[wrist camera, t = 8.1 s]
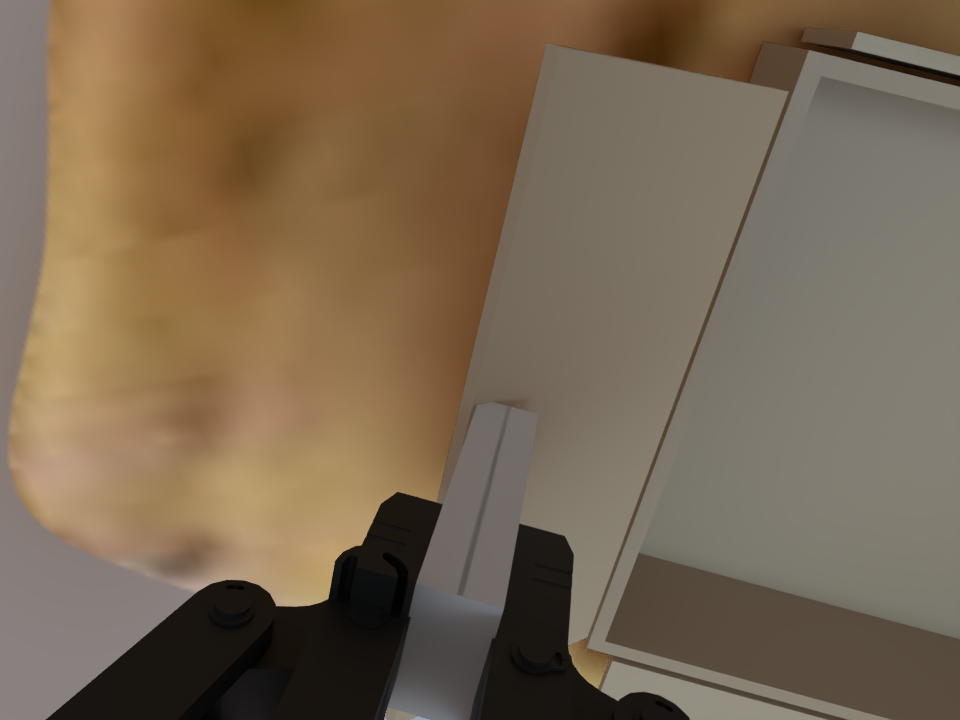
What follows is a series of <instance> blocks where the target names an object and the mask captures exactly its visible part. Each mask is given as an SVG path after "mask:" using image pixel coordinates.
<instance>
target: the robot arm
mask: <svg viewBox="0 0 960 720" xmlns="http://www.w3.org/2000/svg"><path fill="white" fill-rule="evenodd" d="M538 416H539V414H536V413H533V412H529V411H525V410H521V409H518V408H514V407H510V406H506V405H503V404H499V403H495V402H489V403H484V404H478V405H477V406H476V409H475V412H474V415H473V418H472V421H471V424H470V427H469V430H468V433H467V436H466V439H465V442H464V445H463V447H462V450H461V453H460V456H459V459H458V462H457V465H456V468H455V471H454V474H453V477H452V480H451V483H450V486H449V488H448V491H447V494H446V497H445V500H444V503H443V504H440V503H436V502H432V501H429V500H425V499H421V498H418V497H414V496H410V495H407V494H403V493H400V492H397V493H396V494H394V495H393V496H392V497H390V498H389V499H387V500H386V501H384V502H383V503H382V504H381V505H380V507H379V509H378V512H377V514H376V516H375V518H374V520H373V523H372V524H371V527H370V529H369V531H368V533H367V536H366V537H365V539H364V542H363V544H362V546H355V547H353V548H351V549H349V550H346V551H344V552H343V553H342V554H341V555H340V556H339V557H338V558H337V560H336V561H335V565H334V571H333V577H332V583H331V588H330V594H329V599H328V600H325V601H323V602H321V603H318V604H314V605H310V606H299V607H285V606H276V604H275V602H274V601H273V599H272V597H271V595H270V593H268V592H267V591H266V590H264V589H263V588H262V587H260V586H259V585H256V584H253V583H250V582H247V581H243V580H225V581H221V582H217V583H213V584H210V585H208V586H207V587H205V588H203V589H202V590H200V591H198V592H197V593H196V594H194V595H193V596H192V597H191V598H190V599H189V600H187V601H186V602H185V603H184V604H183V605H181V606H180V607H179V608H178V609H177V610H175V611H174V612H173V613H172V614H171V615H170V616H168V617H167V618H166V619H165V620H164V621H163V622H161V623H160V624H159V625H158V626H157V627H155V628H154V629H153V630H152V631H151V632H149V633H148V634H147V635H146V636H145V637H143V638H142V639H141V640H140V641H139V642H137V643H136V644H135V645H134V646H133V647H132V648H130V649H129V650H128V651H127V652H126V653H124V654H123V655H122V656H121V657H120V658H118V659H117V660H116V661H115V662H114V663H113V664H111V665H110V666H109V667H108V668H107V669H105V670H104V671H103V672H102V673H101V674H99V675H98V676H97V677H96V678H95V679H94V680H92V681H91V682H90V683H89V684H88V685H87V686H86V687H84V688H83V689H82V690H81V691H80V692H78V693H77V694H76V695H75V696H73V697H72V698H71V699H70V700H69V701H67V702H66V703H65V704H64V705H63V706H62V707H60V708H59V709H58V710H57V711H56V712H54V713H53V714H52V715H51V716H50V717H49V718H47V719H46V720H384V717H385V713H386V710H387V707H388V708H392V709H395V710H399V711H402V712H406V713H409V714H413V715H416V716H420V717H423V718H427V719H430V720H690V718H689V717H688V716H687V715H686V714H685V713H684V712H683V711H682V710H681V709H680V708H679V707H678V706H677V705H676V704H674V703H673V702H671V701H669V700H667V699H665V698H664V697H662V696H660V695H656V694H652V693H648V692H634V693H629V694H627V695H626V696H624V697H622V698H621V699H619V701H617V700H616V699H614V698H612V697H610V696H609V695H607V694H605V693H603V692H602V691H600V690H598V689H597V688H595V687H594V686H593V685H591V684H590V683H588V682H587V681H586V680H585V679H584V678H583V677H582V676H581V675H580V674H579V672H578V671H577V670H576V668H575V667H574V665H573V663H572V659H571V656H570V654H569V650H568V637H569V623H570V608H571V593H572V592H571V589H572V578H573V577H572V574H573V563H574V554H573V552H572V550H571V547H570V545H569V543H568V541H567V539H566V537H565V536H563V535H560V534H556V533H552V532H549V531H545V530H541V529H538V528H534V527H530V526H527V525H523V524H520V523H519V522H520V517H521V511H522V506H523V500H524V494H525V489H526V483H527V478H528V472H529V466H530V461H531V455H532V450H533V444H534V438H535V433H536V427H537V422H538Z"/></svg>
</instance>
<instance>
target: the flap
mask: <svg viewBox="0 0 960 720" xmlns="http://www.w3.org/2000/svg"><path fill="white" fill-rule="evenodd" d="M788 93H789V91H785V90H781V89H778V88H774V87H769V86H764V85H759V84H754V83H749V82H743V81H738V80H733V79H728V78H723V77H718V76H713V75H708V74H703V73H698V72H693V71H688V70H683V69H677V68H672V67H667V66H662V65H657V64H652V63H647V62H642V61H637V60H632V59H627V58H622V57H617V56H612V55H606V54H601V53H596V52H591V51H586V50H581V49H576V48H571V47H566V46H561V45H556V44H551V43H547V44H546V48H545V52H544V57H543V61H542V65H541V69H540V73H539V77H538V82H537V86H536V90H535V94H534V98H533V102H532V107H531V111H530V115H529V119H528V123H527V127H526V132H525V136H524V140H523V144H522V148H521V152H520V157H519V161H518V165H517V169H516V173H515V178H514V182H513V186H512V190H511V194H510V198H509V203H508V207H507V211H506V215H505V219H504V223H503V228H502V232H501V236H500V240H499V244H498V248H497V253H496V257H495V261H494V265H493V269H492V274H491V278H490V282H489V286H488V290H487V294H486V299H485V303H484V307H483V311H482V315H481V319H480V324H479V328H478V332H477V336H476V340H475V344H474V349H473V353H472V357H471V361H470V365H469V369H468V374H467V378H466V382H465V386H464V390H463V395H462V399H461V403H460V407H459V411H458V415H457V420H456V424H455V428H454V432H453V436H452V440H451V445H450V449H449V453H448V457H447V461H446V465H445V470H444V474H443V478H442V482H441V486H440V490H439V495H438V499H437V503H440V504H443V503H444V500H445V497H446V494H447V491H448V488H449V486H450V483H451V480H452V477H453V474H454V471H455V468H456V465H457V462H458V459H459V456H460V453H461V450H462V447H463V445H464V442H465V439H466V436H467V433H468V430H469V427H470V424H471V421H472V418H473V415H474V412H475V409H476V406H477V405H478V404H484V403H489V402H495V403H499V404H503V405H506V406H510V407H514V408H518V409H521V410H525V411H529V412H533V413H536V414H539V416H538V422H537V427H536V433H535V438H534V444H533V450H532V455H531V461H530V466H529V472H528V478H527V483H526V489H525V494H524V500H523V506H522V511H521V517H520V522H519V523H520V524H523V525H527V526H530V527H534V528H538V529H541V530H545V531H549V532H552V533H556V534H560V535H563V536H565V537H566V539H567V541H568V543H569V545H570V547H571V550H572V552H573V554H574V563H573V574H572V577H573V578H572V589H571V592H572V593H571V608H570V623H569V637H568V646H569V645H571V644H573V643H576V642H578V641H580V640H582V639H584V638H586V637H588V634H589V631H590V629H591V626H592V623H593V621H594V618H595V615H596V612H597V610H598V607H599V604H600V602H601V599H602V596H603V594H604V591H605V588H606V585H607V583H608V580H609V577H610V575H611V572H612V569H613V566H614V564H615V561H616V558H617V556H618V553H619V550H620V547H621V545H622V542H623V539H624V537H625V534H626V531H627V529H628V526H629V523H630V520H631V518H632V515H633V512H634V510H635V507H636V504H637V501H638V499H639V496H640V493H641V491H642V488H643V485H644V482H645V480H646V477H647V474H648V472H649V469H650V466H651V464H652V461H653V458H654V455H655V453H656V450H657V447H658V445H659V442H660V439H661V436H662V434H663V431H664V428H665V426H666V423H667V420H668V418H669V415H670V412H671V409H672V407H673V404H674V401H675V399H676V396H677V393H678V390H679V388H680V385H681V382H682V380H683V377H684V374H685V371H686V369H687V366H688V363H689V361H690V358H691V355H692V353H693V350H694V347H695V344H696V342H697V339H698V336H699V334H700V331H701V328H702V325H703V323H704V320H705V317H706V315H707V312H708V309H709V306H710V304H711V301H712V298H713V296H714V293H715V290H716V288H717V285H718V282H719V279H720V277H721V274H722V271H723V269H724V266H725V263H726V260H727V258H728V255H729V252H730V250H731V247H732V244H733V242H734V239H735V236H736V233H737V231H738V228H739V225H740V223H741V220H742V217H743V214H744V212H745V209H746V206H747V204H748V201H749V198H750V195H751V193H752V190H753V187H754V185H755V182H756V179H757V177H758V174H759V171H760V168H761V166H762V163H763V160H764V158H765V155H766V152H767V149H768V147H769V144H770V141H771V139H772V136H773V133H774V131H775V128H776V125H777V122H778V120H779V117H780V114H781V112H782V109H783V106H784V103H785V101H786V98H787V95H788ZM385 717H386V719H387V720H410V719H412V718H414V717H417V716H416V715H413V714H409V713H406V712H402V711H399V710H395V709H392V708H388V707H387V712H386V716H385Z"/></svg>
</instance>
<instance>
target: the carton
mask: <svg viewBox="0 0 960 720" xmlns="http://www.w3.org/2000/svg"><path fill="white" fill-rule="evenodd" d="M801 41H802V42H806V43H810V44H814V45H818V46H822V47H826V48H830V49H834V50H838V51H843V52H847V53H851V54H855V55H859V56H863V57H867V58H871V59H875V60H879V61H883V62H888V63H892V64H896V65H900V66H904V67H908V68H912V69H916V70H920V71H924V72H928V73H933V74H937V75H941V76H945V77H949V78H953V79H957V80H960V56H956V55H952V54H948V53H944V52H940V51H935V50H931V49H927V48H923V47H919V46H915V45H911V44H907V43H903V42H898V41H894V40H890V39H886V38H882V37H878V36H874V35H870V34H866V33H861V32H856V31H843V30H831V29H818V28H806V29H805V31H804V34H803V37H802V40H801ZM749 83H754V84H759V85H764V86H769V87H774V88H778V89H781V90H785V91H789V93H788V95H787V98H786V101H785V103H784V106H783V109H782V112H781V114H780V117H779V120H778V122H777V125H776V128H775V131H774V133H773V136H772V139H771V141H770V144H769V147H768V149H767V152H766V155H765V158H764V160H763V163H762V166H761V168H760V171H759V174H758V177H757V179H756V182H755V185H754V187H753V190H752V193H751V195H750V198H749V201H748V204H747V206H746V209H745V212H744V214H743V217H742V220H741V223H740V225H739V228H738V231H737V233H736V236H735V239H734V242H733V244H732V247H731V250H730V252H729V255H728V258H727V260H726V263H725V266H724V269H723V271H722V274H721V277H720V279H719V282H718V285H717V288H716V290H715V293H714V296H713V298H712V301H711V304H710V306H709V309H708V312H707V315H706V317H705V320H704V323H703V325H702V328H701V331H700V334H699V336H698V339H697V342H696V344H695V347H694V350H693V353H692V355H691V358H690V361H689V363H688V366H687V369H686V371H685V374H684V377H683V380H682V382H681V385H680V388H679V390H678V393H677V396H676V399H675V401H674V404H673V407H672V409H671V412H670V415H669V418H668V420H667V423H666V426H665V428H664V431H663V434H662V436H661V439H660V442H659V445H658V447H657V450H656V453H655V455H654V458H653V461H652V464H651V466H650V469H649V472H648V474H647V477H646V480H645V482H644V485H643V488H642V491H641V493H640V496H639V499H638V501H637V504H636V507H635V510H634V512H633V515H632V518H631V520H630V523H629V526H628V529H627V531H626V534H625V537H624V539H623V542H622V545H621V547H620V550H619V553H618V556H617V558H616V561H615V564H614V566H613V569H612V572H611V575H610V577H609V580H608V583H607V585H606V588H605V591H604V594H603V596H602V599H601V602H600V604H599V607H598V610H597V612H596V615H595V618H594V621H593V623H592V626H591V629H590V631H589V634H588V637H587V648H588V649H592V650H595V651H599V652H603V653H606V654H610V655H611V657H610V660H609V663H608V665H607V668H606V670H605V673H604V675H603V678H602V680H601V683H600V686H599V688H598V690H600V691H602V692H603V693H605V694H607V695H609V696H610V697H612V698H614V699H616V700H617V701H619V699H621V698H622V697H624V696H626V695H627V694H629V693H634V692H648V693H652V694H656V695H660V696H662V697H664V698H665V699H667V700H669V701H671V702H673V703H674V704H676V705H677V706H678V707H679V708H680V709H681V710H682V711H683V712H684V713H685V714H686V715H687V716H688V717H689V718H690V720H960V87H958V86H954V85H950V84H946V83H942V82H938V81H934V80H930V79H925V78H921V77H917V76H913V75H909V74H905V73H901V72H897V71H893V70H889V69H885V68H880V67H876V66H872V65H868V64H864V63H860V62H856V61H852V60H848V59H844V58H840V57H835V56H831V55H827V54H823V53H819V52H815V51H811V50H806V49H801V48H795V47H790V46H785V45H779V44H774V43H768V42H763V45H762V47H761V50H760V53H759V56H758V59H757V62H756V65H755V68H754V70H753V73H752V76H751V79H750V82H749Z"/></svg>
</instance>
